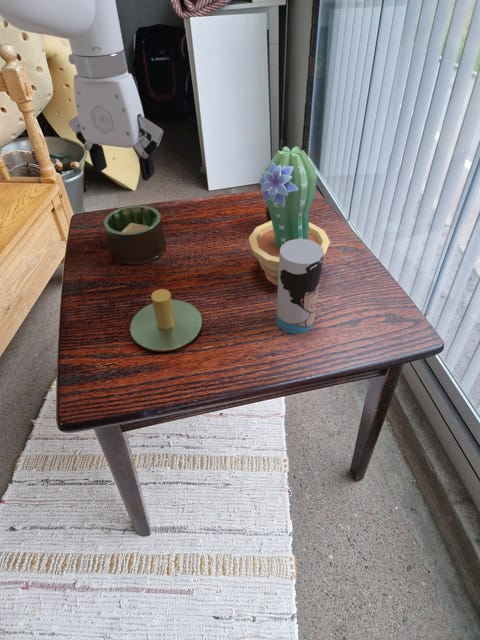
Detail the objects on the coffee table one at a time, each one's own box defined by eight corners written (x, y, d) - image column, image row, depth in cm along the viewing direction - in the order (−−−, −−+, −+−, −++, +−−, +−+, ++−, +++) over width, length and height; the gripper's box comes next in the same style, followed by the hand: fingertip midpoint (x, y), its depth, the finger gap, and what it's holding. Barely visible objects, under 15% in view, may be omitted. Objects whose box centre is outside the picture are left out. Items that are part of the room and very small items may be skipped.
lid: (117, 343, 72) (107, 311, 67) (152, 298, 81) (145, 266, 75) (184, 362, 69) (178, 329, 64) (213, 312, 77) (210, 280, 72)
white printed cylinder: (306, 338, 72) (315, 268, 62) (270, 327, 74) (273, 257, 64) (318, 314, 76) (329, 244, 66) (284, 303, 79) (289, 235, 68)
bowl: (101, 259, 90) (92, 228, 85) (129, 231, 98) (122, 201, 93) (149, 269, 87) (143, 238, 82) (174, 239, 95) (170, 209, 90)
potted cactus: (237, 262, 88) (233, 141, 71) (301, 244, 93) (312, 126, 75) (269, 306, 78) (274, 178, 61) (340, 284, 82) (363, 159, 65)
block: (124, 251, 91) (119, 233, 88) (134, 240, 94) (130, 222, 91) (142, 254, 90) (138, 236, 87) (152, 243, 93) (149, 225, 90)
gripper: (37, 67, 63) (71, 176, 75) (140, 75, 59) (158, 189, 71) (67, 55, 68) (94, 159, 80) (163, 62, 64) (177, 171, 76)
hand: (124, 173), depth 75 cm, fingers open, 9 cm apart
